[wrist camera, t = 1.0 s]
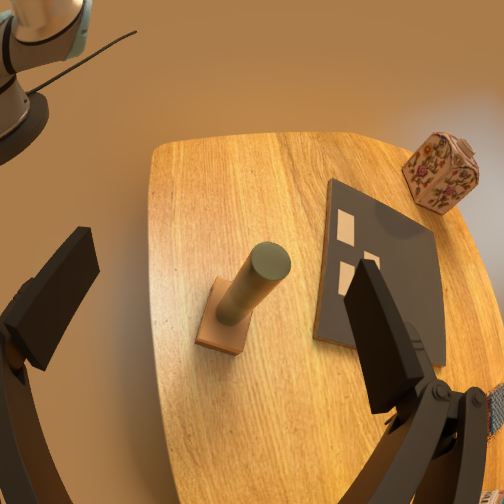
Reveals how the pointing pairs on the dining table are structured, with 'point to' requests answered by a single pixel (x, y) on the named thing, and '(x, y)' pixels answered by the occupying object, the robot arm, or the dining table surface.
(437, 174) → the decorative jar
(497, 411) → the woven mat
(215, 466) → the dining table surface
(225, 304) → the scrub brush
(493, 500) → the beverage bottle
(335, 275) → the tile
